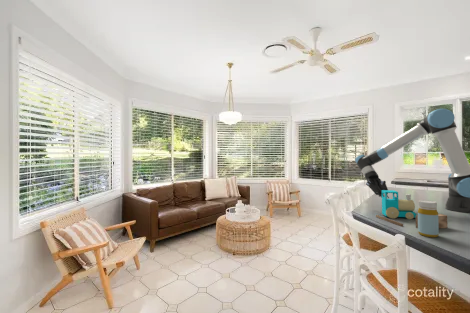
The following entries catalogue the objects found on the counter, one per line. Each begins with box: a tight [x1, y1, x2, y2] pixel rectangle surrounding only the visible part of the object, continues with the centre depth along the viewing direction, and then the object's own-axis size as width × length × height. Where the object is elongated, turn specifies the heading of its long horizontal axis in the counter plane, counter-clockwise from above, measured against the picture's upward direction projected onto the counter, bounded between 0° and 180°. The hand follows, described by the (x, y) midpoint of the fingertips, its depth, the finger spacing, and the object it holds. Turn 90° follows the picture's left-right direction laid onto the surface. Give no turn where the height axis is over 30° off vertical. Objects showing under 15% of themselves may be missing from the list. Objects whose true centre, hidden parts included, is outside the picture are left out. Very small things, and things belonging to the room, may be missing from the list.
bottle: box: [417, 199, 440, 238], centre depth 103 cm, size 7×7×15 cm
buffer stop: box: [415, 213, 448, 229], centre depth 114 cm, size 14×5×6 cm, turn 96°
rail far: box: [375, 214, 404, 227], centre depth 125 cm, size 1×18×1 cm, turn 5°
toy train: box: [381, 189, 418, 220], centre depth 133 cm, size 8×17×15 cm, turn 74°
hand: (389, 203), depth 139 cm, fingers closed
